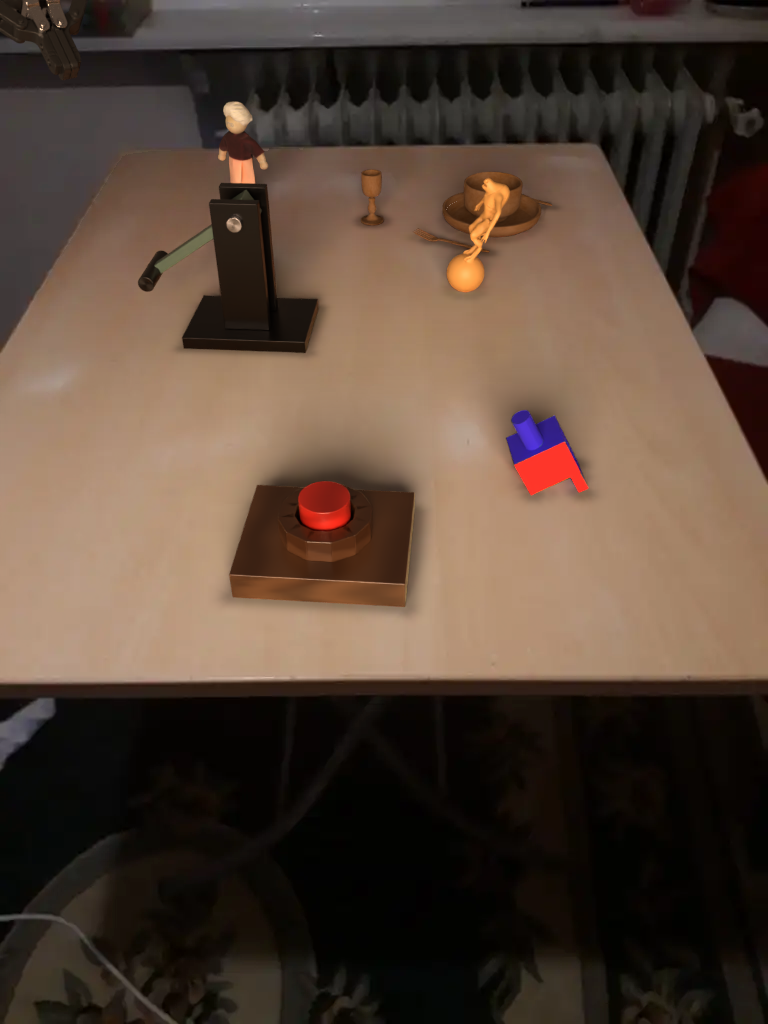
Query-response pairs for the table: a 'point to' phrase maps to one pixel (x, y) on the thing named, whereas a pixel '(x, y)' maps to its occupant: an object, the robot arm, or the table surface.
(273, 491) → the button block
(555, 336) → the table surface
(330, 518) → the button
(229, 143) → the grandmother figurine
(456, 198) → the place setting
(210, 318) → the bracket
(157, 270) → the lever
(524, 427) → the toy building block
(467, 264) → the figurine
